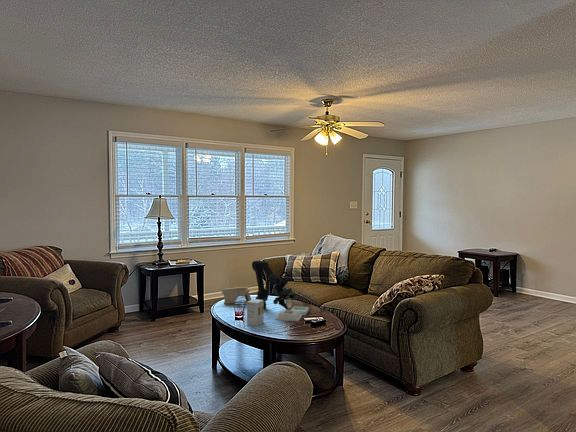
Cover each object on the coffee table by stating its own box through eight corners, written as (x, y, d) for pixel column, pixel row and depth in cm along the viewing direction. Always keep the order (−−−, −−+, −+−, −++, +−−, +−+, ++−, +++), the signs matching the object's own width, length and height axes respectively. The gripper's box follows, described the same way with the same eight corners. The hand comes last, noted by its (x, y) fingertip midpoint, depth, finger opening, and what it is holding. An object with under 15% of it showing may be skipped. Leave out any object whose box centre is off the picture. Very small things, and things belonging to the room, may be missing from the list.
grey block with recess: (274, 319, 295) (274, 313, 295) (279, 314, 308) (279, 308, 308) (298, 321, 290) (298, 315, 290) (302, 315, 304) (302, 310, 304)
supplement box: (257, 326, 280) (257, 303, 279) (246, 324, 284) (246, 301, 283) (264, 322, 289) (263, 299, 288) (252, 321, 292) (252, 298, 291)
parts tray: (290, 314, 308) (290, 310, 308) (294, 309, 320) (293, 306, 320) (305, 315, 305) (305, 311, 305) (308, 310, 317) (308, 307, 317)
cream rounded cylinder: (284, 317, 298) (284, 300, 297) (286, 315, 302) (286, 298, 302) (291, 317, 296) (290, 300, 296) (292, 315, 301) (292, 298, 300)
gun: (252, 303, 339) (250, 286, 338) (251, 304, 336) (249, 287, 335) (224, 305, 342) (222, 288, 341) (223, 306, 338) (221, 289, 338)
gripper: (275, 287, 295) (285, 304, 287) (294, 283, 307) (304, 300, 300) (269, 295, 301) (278, 313, 294) (287, 291, 314) (297, 308, 306)
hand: (289, 308), depth 298 cm, fingers closed on cream rounded cylinder, 4 cm apart
